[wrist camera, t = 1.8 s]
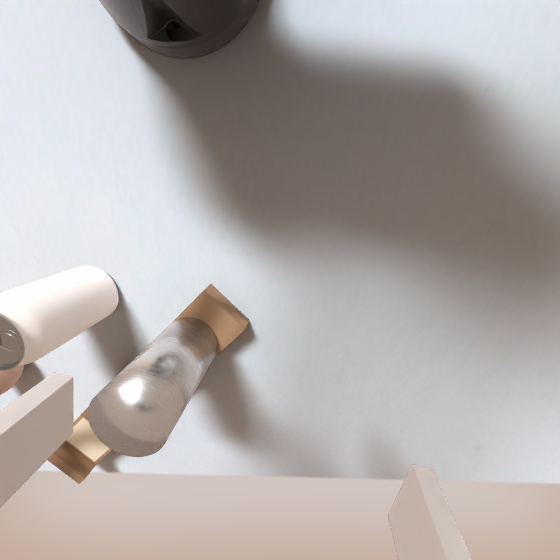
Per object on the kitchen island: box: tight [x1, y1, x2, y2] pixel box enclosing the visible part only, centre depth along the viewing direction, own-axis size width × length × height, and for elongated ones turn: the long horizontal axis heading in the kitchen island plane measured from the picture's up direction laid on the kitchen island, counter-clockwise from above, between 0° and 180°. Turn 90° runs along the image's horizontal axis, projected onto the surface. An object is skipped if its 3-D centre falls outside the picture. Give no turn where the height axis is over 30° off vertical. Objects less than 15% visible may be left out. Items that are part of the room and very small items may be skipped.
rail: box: [47, 284, 249, 483], centre depth 36 cm, size 6×31×4 cm, turn 135°
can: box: [0, 266, 119, 371], centre depth 29 cm, size 6×6×12 cm
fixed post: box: [88, 317, 218, 457], centre depth 27 cm, size 6×6×12 cm
